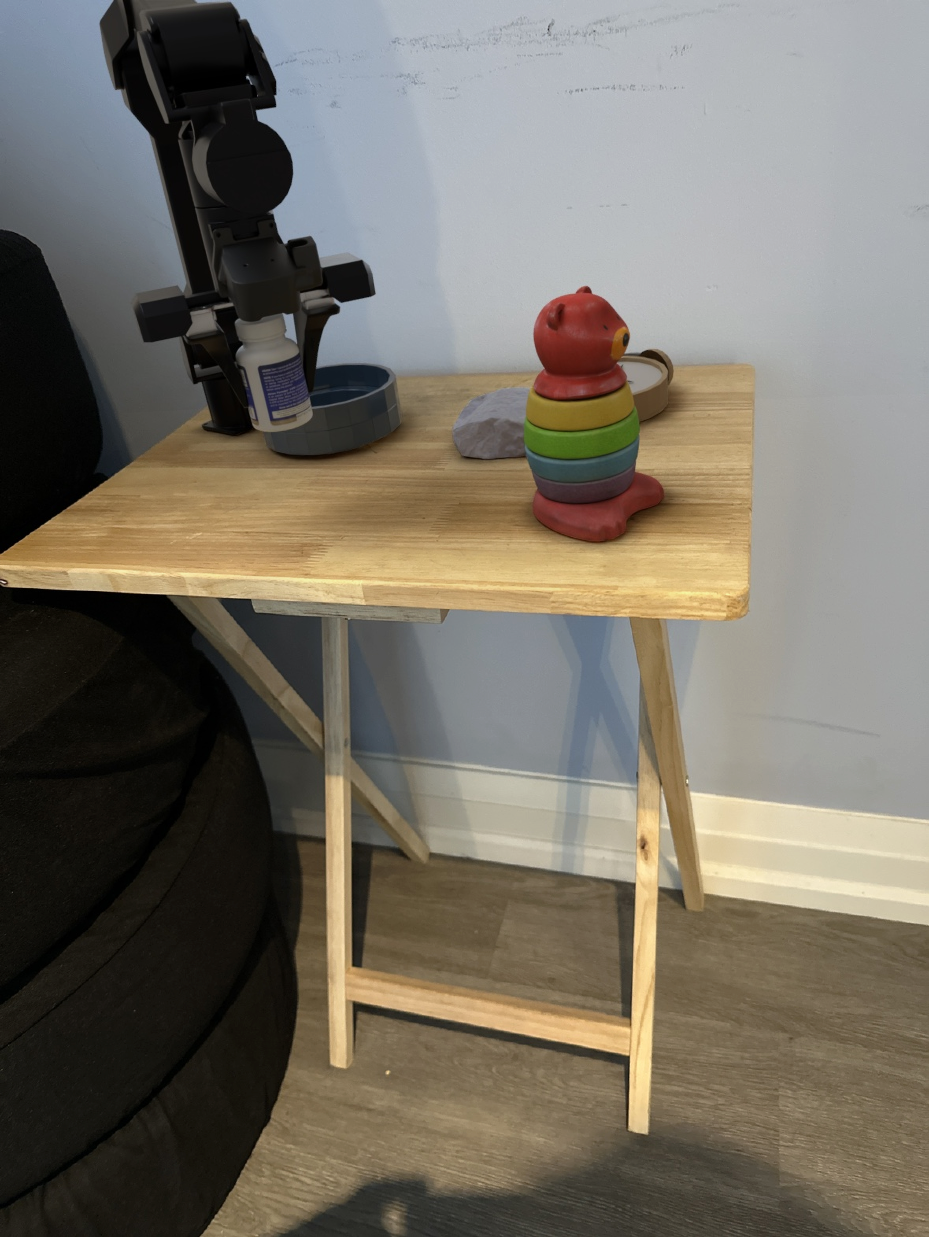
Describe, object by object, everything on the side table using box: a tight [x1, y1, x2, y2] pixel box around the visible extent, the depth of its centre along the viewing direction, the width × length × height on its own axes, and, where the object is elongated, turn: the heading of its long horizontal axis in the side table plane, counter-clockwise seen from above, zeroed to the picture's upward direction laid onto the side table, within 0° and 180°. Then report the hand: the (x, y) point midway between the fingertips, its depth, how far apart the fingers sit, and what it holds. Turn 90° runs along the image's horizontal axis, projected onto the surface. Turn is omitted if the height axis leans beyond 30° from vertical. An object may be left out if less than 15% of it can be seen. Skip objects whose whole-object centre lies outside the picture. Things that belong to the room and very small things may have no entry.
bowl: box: [262, 362, 403, 456], centre depth 101 cm, size 15×15×6 cm
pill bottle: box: [235, 313, 313, 432], centre depth 78 cm, size 5×5×9 cm
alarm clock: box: [617, 348, 674, 422], centre depth 99 cm, size 11×5×15 cm
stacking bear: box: [524, 285, 665, 542], centre depth 74 cm, size 11×10×18 cm
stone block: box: [451, 386, 531, 460], centre depth 95 cm, size 12×5×10 cm
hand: (277, 399), depth 79 cm, fingers closed on pill bottle, 5 cm apart
